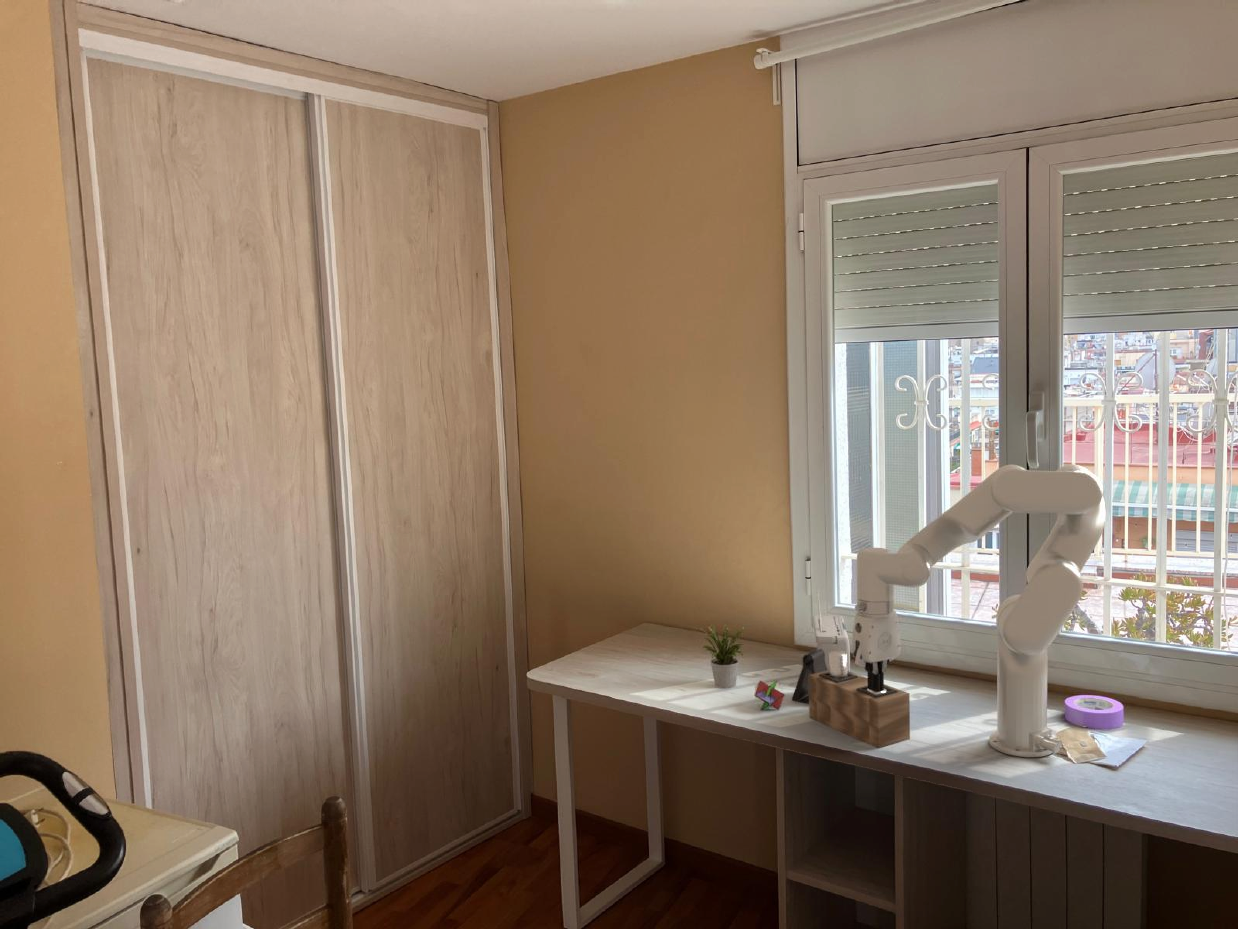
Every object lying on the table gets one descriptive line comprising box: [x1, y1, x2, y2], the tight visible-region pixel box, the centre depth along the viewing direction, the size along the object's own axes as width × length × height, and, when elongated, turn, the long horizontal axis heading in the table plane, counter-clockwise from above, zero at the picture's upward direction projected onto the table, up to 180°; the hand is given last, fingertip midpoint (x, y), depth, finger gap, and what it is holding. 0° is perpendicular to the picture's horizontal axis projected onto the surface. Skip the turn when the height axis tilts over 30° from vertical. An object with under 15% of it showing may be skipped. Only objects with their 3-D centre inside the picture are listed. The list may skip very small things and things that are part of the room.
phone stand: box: [791, 647, 828, 705], centre depth 236 cm, size 9×6×12 cm, turn 52°
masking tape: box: [1064, 694, 1124, 730], centre depth 218 cm, size 12×12×4 cm
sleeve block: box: [808, 670, 911, 749], centre depth 218 cm, size 22×9×10 cm, turn 30°
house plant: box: [694, 621, 747, 689], centre depth 249 cm, size 14×14×16 cm
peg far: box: [829, 651, 848, 680], centre depth 223 cm, size 4×4×9 cm
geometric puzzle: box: [754, 679, 785, 711], centre depth 232 cm, size 7×7×8 cm
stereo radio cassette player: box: [812, 590, 851, 672], centre depth 254 cm, size 21×8×20 cm, turn 171°
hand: (875, 689), depth 212 cm, fingers closed
